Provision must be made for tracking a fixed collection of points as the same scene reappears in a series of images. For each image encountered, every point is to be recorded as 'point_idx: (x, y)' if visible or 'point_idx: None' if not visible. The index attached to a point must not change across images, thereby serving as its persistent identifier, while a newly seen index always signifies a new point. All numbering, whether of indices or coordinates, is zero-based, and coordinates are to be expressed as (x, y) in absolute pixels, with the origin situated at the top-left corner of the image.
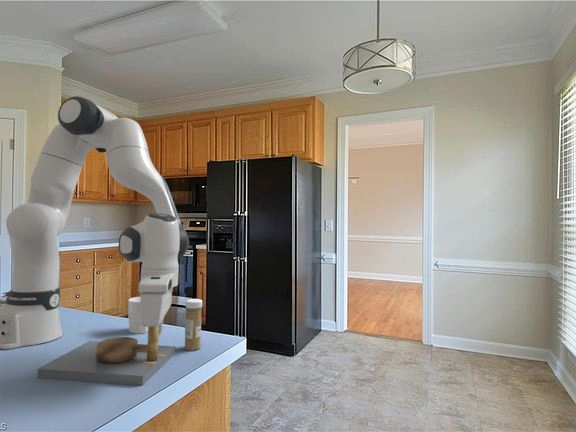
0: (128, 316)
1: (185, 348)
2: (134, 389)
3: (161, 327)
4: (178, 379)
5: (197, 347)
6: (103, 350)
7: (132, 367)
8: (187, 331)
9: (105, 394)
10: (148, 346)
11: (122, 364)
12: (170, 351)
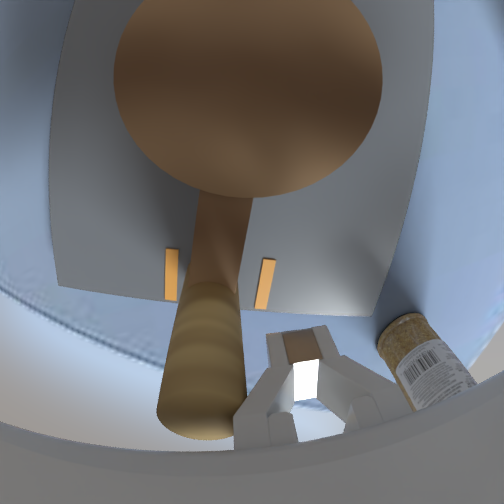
0: None
1: (393, 323)
2: (47, 253)
3: (300, 396)
4: (136, 357)
5: (383, 359)
6: (124, 34)
7: (112, 215)
8: (418, 374)
9: (9, 179)
10: (180, 298)
11: (140, 152)
12: (321, 313)
